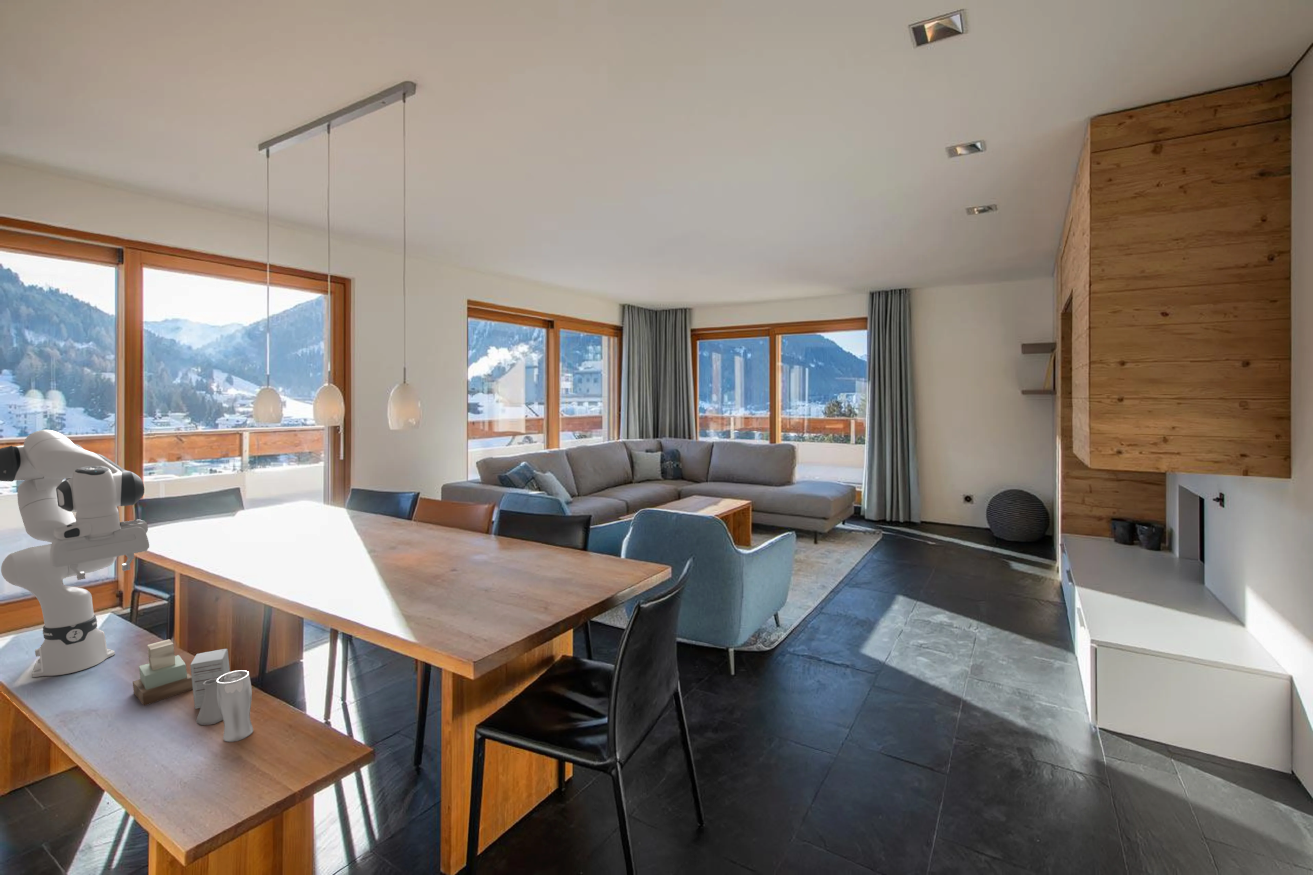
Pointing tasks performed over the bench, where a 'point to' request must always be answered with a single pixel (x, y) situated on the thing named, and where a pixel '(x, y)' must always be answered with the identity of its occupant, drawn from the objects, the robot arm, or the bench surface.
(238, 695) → the beer glass
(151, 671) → the tower top block
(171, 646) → the birch block
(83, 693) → the bench surface
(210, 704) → the flask
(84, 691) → the bench surface
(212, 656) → the supplement box
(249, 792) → the bench surface
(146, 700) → the tower base slab
